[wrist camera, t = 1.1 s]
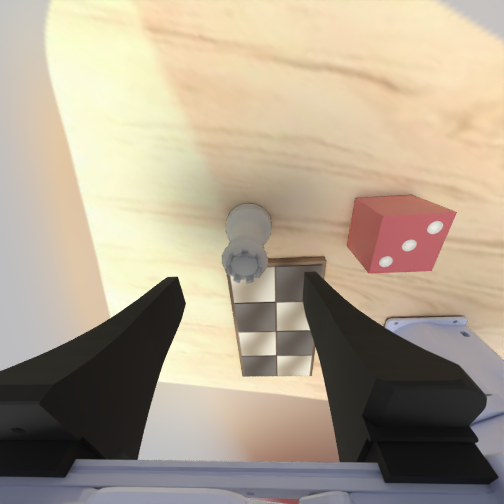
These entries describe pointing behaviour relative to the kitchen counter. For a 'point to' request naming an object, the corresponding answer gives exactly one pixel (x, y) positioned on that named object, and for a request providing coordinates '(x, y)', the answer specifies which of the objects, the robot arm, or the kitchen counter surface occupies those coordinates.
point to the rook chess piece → (246, 242)
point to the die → (398, 233)
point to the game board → (275, 319)
